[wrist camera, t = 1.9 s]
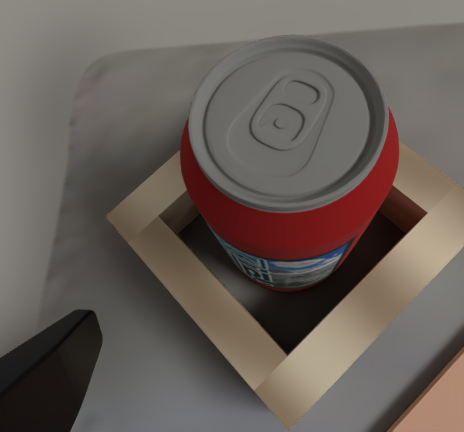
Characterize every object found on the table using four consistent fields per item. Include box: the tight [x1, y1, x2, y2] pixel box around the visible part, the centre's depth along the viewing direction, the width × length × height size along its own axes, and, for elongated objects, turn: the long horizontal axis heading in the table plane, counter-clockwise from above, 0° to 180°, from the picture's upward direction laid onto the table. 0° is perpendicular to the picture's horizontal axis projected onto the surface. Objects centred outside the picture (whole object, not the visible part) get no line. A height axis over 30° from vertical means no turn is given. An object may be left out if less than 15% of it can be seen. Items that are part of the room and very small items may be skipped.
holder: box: [105, 141, 464, 431], centre depth 20 cm, size 13×13×4 cm
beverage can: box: [180, 35, 399, 292], centre depth 16 cm, size 7×7×12 cm
